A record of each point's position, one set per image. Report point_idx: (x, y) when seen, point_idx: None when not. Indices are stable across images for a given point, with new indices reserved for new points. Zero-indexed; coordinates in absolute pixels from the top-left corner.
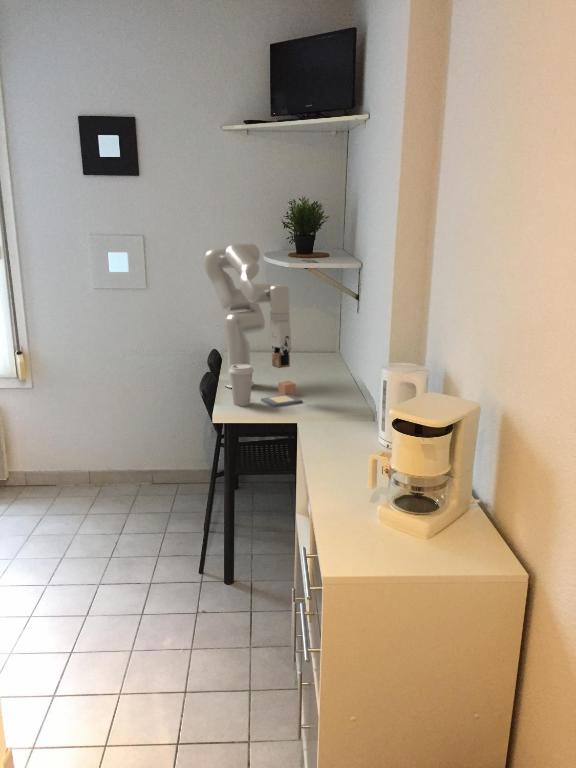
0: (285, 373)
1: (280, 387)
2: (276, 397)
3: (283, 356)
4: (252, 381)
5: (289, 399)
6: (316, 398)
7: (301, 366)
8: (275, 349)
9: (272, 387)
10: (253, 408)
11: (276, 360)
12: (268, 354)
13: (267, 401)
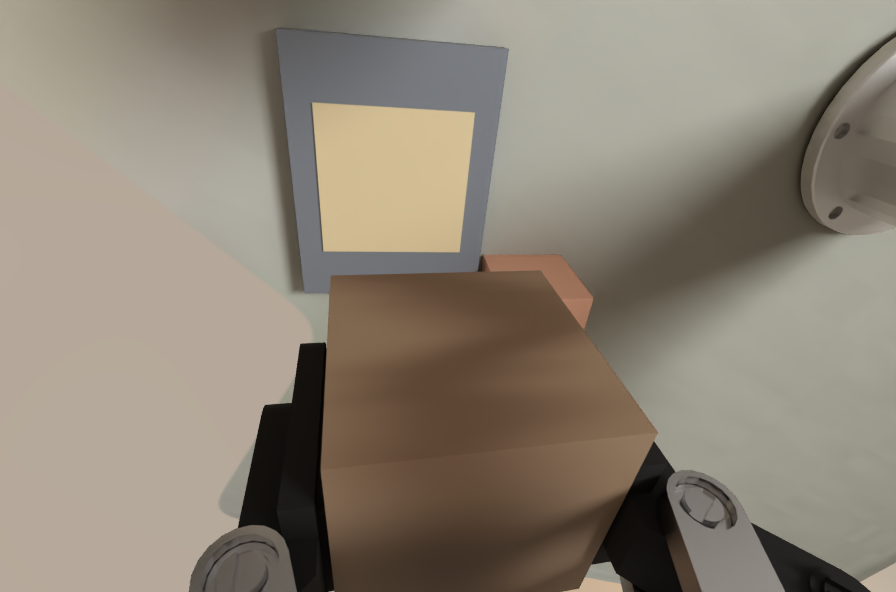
0: (795, 435)
1: (556, 281)
2: (452, 174)
3: (263, 518)
4: (854, 233)
5: (354, 228)
6: None
7: (797, 508)
8: (679, 580)
9: (690, 289)
10: None
11: (409, 351)
12: None
13: (396, 42)
